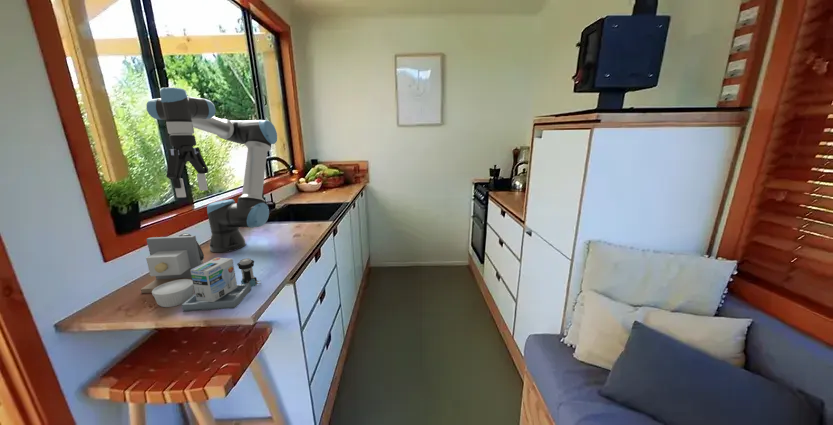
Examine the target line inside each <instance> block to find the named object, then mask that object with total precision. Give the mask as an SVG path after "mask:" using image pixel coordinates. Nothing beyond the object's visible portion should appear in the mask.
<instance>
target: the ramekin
mask: <svg viewBox="0 0 833 425" xmlns="http://www.w3.org/2000/svg"><path fill="white" fill-rule="evenodd" d="M151 294H152V297H154V300H155V302H156V304H157V305H158V306H159V307H162V308H173V307H176V306H180V305H182V304H183V303H184V302H186V301H187V300H188V299H189V298H191V297H192V296H193V295H194V287H193V281H192V280H190V279H180V280H175V281H171V282H167V283H164V284H162V285H160V286H158V287H156V288H154V289H153V290H152V293H151Z"/></svg>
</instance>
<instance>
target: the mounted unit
mask: <svg viewBox="0 0 833 425" xmlns="http://www.w3.org/2000/svg"><path fill="white" fill-rule="evenodd" d="M145 241H146V244H147V248H148V251H149V256H146V257H145V259H146V265H147V268H148V271H149V275H150V277H155V279H154V280H152V281H151V282H150V283H148V284H146V285H145V286H143V287H141V289H140V292H141V294H152V290H153V289H154V288H156V287H158V286H160V285H162V284H164V283H167V282H171V281H175V280H180V279H190V280H192V276H191V271H190V270H191V269H193V268H195V267H198V266H200V265H201V261H200V256H199V251H198V246H197V242H198V241H197V237H196V235H192V236H180V235H178V236H160V237H159V236H156V237H155V236H153V237H148V238H146V240H145ZM193 288H194V286H193Z"/></svg>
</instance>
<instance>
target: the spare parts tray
mask: <svg viewBox="0 0 833 425" xmlns="http://www.w3.org/2000/svg"><path fill="white" fill-rule="evenodd" d="M251 291H252V287H251V286H250V284H237V288H236V289H234V290H232V291H231V292H229V293H228V294H226V295H224V296H223V297H221V298H219V299H218V300H216V301H215V302H207V301H197V300H196V295H195V293H193V296H192V297H191V298H189V299H188V300H187V301H186V302H184V303H183V304H181V308H182V312H185V313H186V312H198V311H199V312H200V311H215V310H216V311H217V310H218V311H219V310H233V309H236V308H237V307H238V306H239V305H240V304H241V302H242V301H243V300H244V299H245V298H246V296H248V295H249V293H250V292H251Z"/></svg>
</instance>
